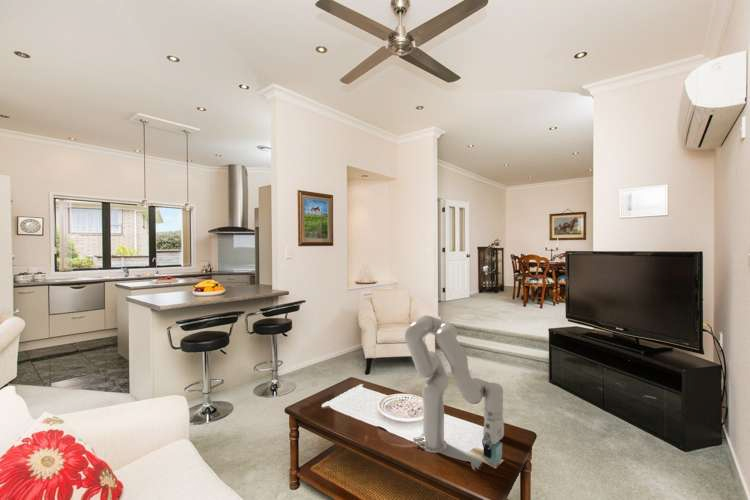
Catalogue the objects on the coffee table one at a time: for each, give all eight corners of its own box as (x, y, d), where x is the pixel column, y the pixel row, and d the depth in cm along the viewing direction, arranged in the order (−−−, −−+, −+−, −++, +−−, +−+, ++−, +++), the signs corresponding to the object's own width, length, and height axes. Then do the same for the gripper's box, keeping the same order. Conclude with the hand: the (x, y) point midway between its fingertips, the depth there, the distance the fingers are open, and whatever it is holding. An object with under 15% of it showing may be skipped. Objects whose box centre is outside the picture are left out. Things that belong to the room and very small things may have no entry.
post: (495, 465, 144) (495, 449, 143) (484, 460, 147) (485, 444, 147) (500, 460, 147) (500, 445, 147) (490, 455, 150) (490, 440, 150)
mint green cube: (495, 463, 143) (495, 448, 143) (483, 457, 147) (483, 442, 147) (501, 457, 147) (502, 442, 147) (489, 451, 151) (490, 437, 151)
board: (495, 470, 142) (495, 468, 142) (466, 455, 152) (466, 453, 152) (503, 461, 147) (503, 460, 147) (475, 447, 157) (475, 446, 157)
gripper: (491, 424, 138) (491, 465, 138) (510, 409, 149) (510, 447, 150) (475, 417, 143) (474, 456, 144) (494, 403, 155) (494, 439, 156)
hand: (492, 451), depth 147 cm, fingers open, 9 cm apart
